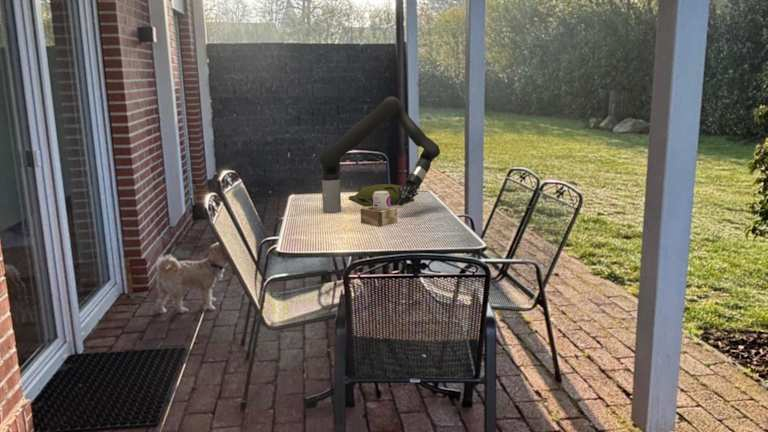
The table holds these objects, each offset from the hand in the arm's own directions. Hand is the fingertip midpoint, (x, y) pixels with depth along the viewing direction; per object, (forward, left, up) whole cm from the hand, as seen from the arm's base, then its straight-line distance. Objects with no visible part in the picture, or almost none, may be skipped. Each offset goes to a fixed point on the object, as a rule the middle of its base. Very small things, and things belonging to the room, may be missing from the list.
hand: (399, 204), depth 326 cm
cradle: (-12, -7, -7) cm, 15 cm away
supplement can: (-11, -7, -7) cm, 15 cm away
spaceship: (+4, +49, -7) cm, 50 cm away
